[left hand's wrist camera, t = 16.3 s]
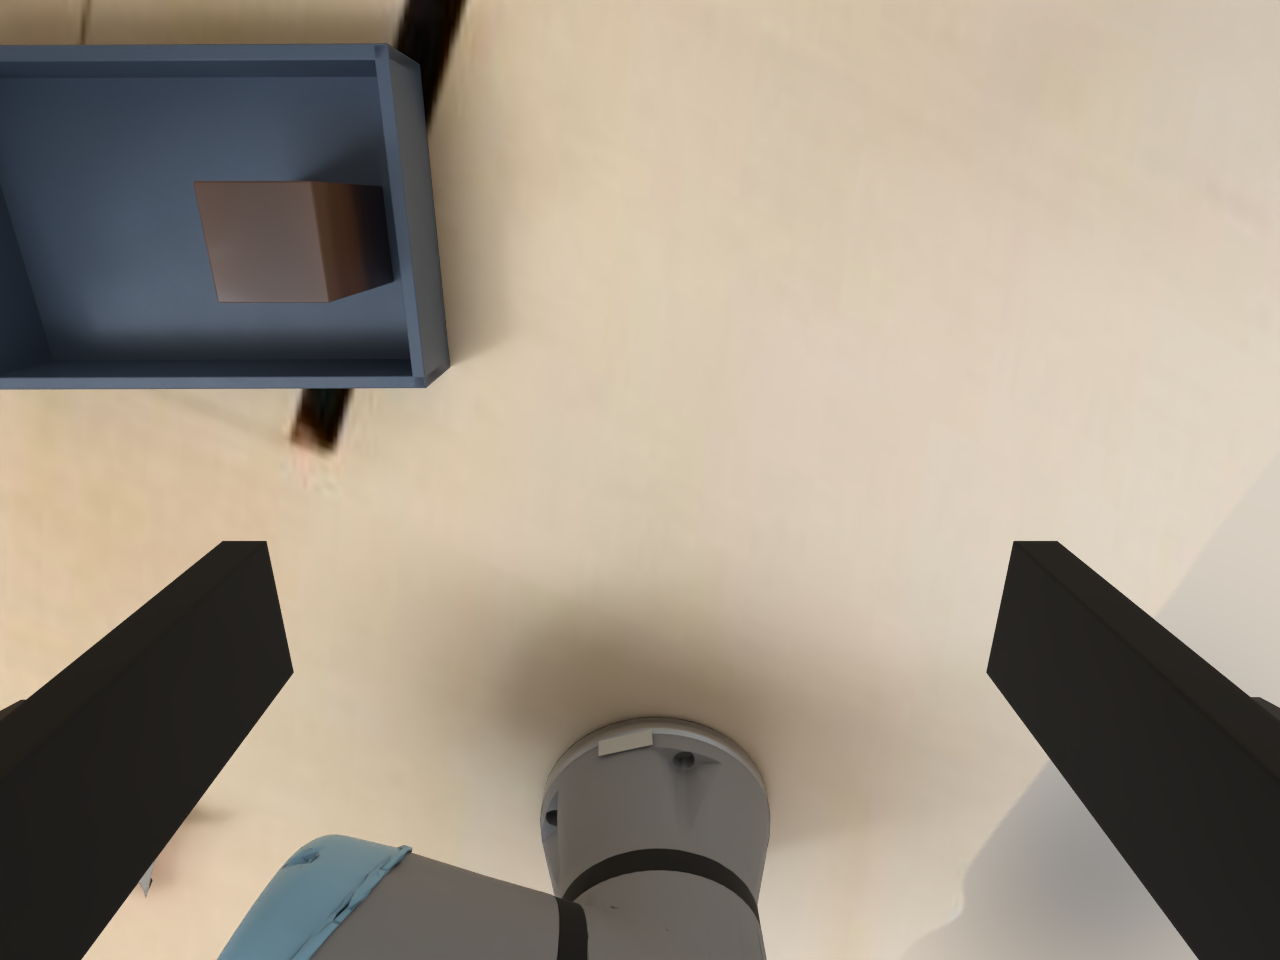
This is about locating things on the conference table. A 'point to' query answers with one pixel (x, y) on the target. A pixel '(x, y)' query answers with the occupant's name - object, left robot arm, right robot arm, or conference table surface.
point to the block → (294, 240)
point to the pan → (170, 220)
